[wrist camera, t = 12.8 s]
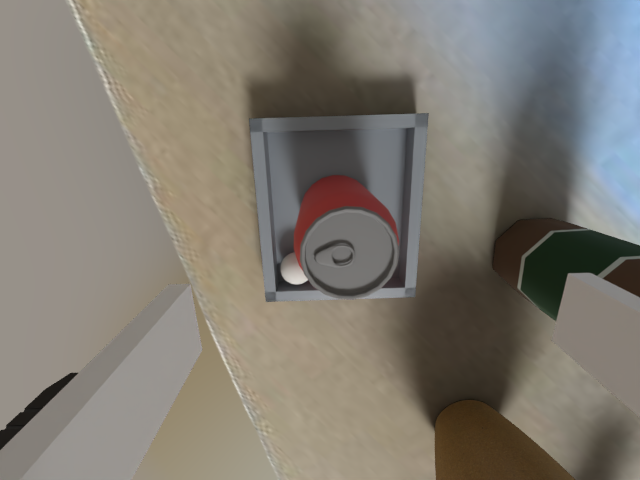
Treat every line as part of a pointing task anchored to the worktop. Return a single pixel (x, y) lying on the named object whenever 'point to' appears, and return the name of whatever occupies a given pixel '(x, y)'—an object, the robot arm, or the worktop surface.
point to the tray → (337, 159)
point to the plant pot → (488, 447)
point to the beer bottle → (561, 260)
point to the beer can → (345, 239)
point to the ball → (292, 270)
